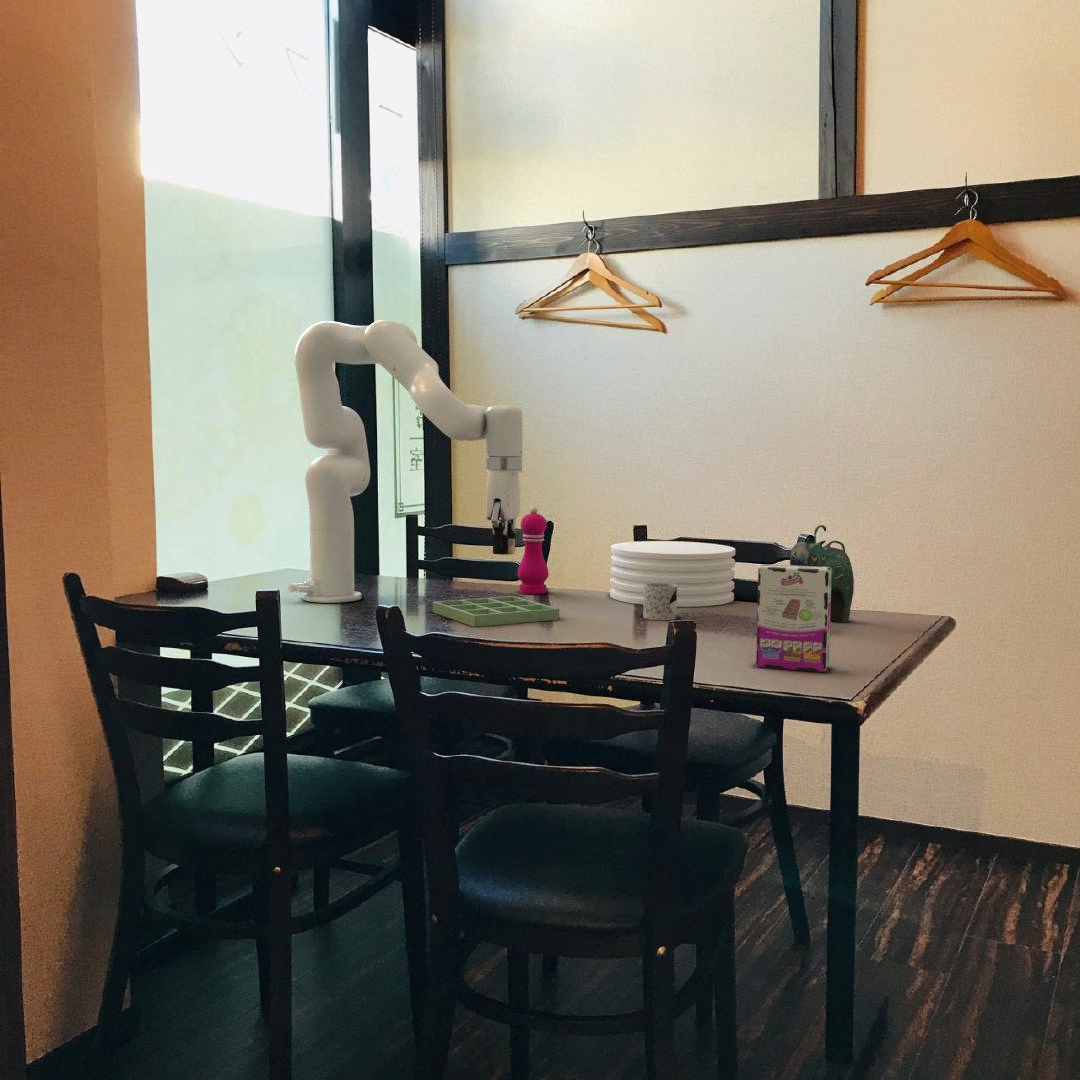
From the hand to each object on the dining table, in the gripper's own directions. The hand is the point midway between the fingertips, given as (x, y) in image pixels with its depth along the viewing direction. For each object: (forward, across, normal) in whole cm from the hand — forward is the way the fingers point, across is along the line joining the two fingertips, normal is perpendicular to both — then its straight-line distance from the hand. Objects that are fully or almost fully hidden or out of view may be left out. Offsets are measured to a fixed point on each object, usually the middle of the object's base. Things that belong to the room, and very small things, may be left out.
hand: (504, 551), depth 233 cm
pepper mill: (+12, -26, -1) cm, 28 cm away
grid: (+12, +8, +1) cm, 15 cm away
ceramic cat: (+13, -2, +64) cm, 66 cm away
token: (0, 0, 0) cm, 0 cm away
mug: (+13, -2, +32) cm, 35 cm away
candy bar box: (+13, +40, +61) cm, 74 cm away
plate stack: (+13, -29, +31) cm, 44 cm away
